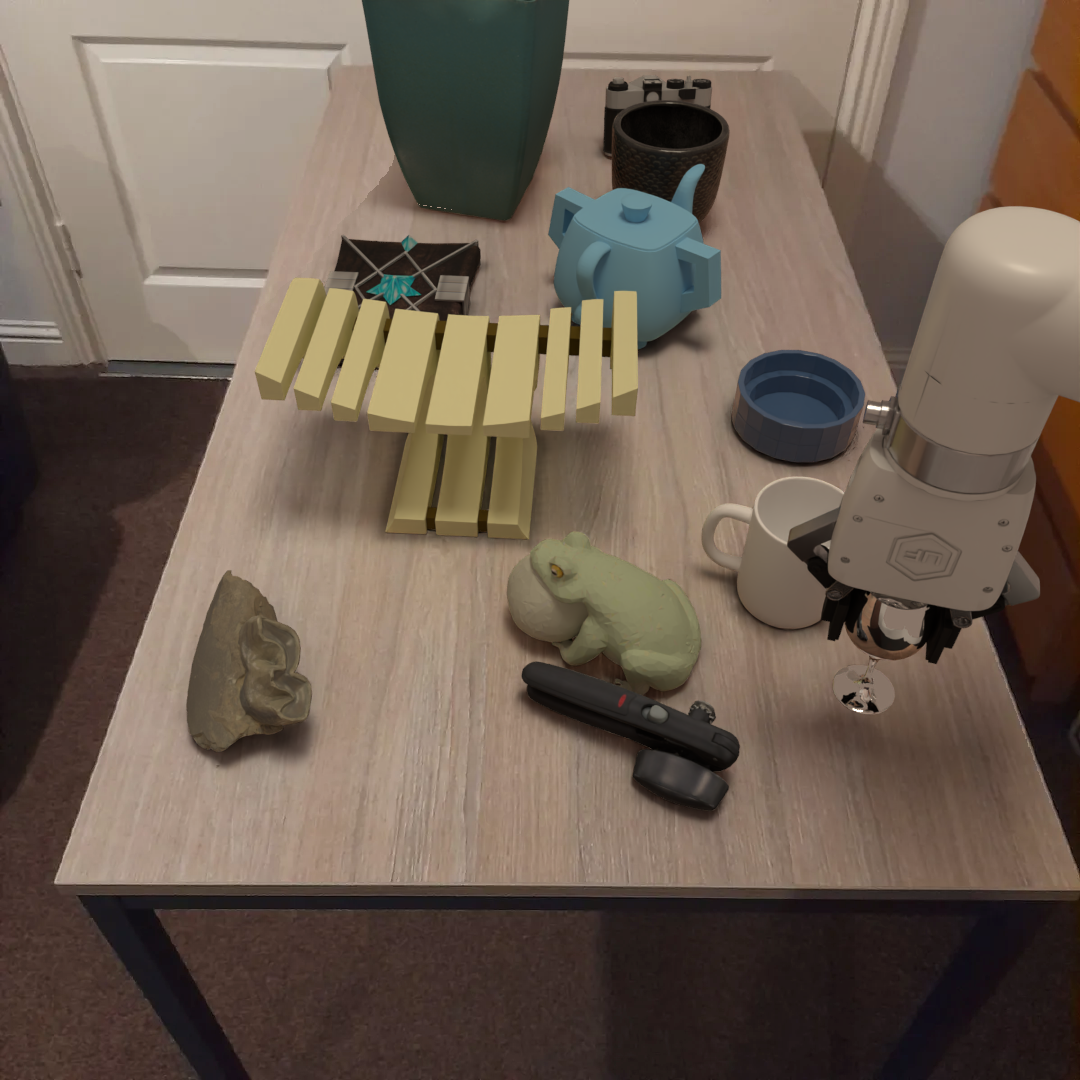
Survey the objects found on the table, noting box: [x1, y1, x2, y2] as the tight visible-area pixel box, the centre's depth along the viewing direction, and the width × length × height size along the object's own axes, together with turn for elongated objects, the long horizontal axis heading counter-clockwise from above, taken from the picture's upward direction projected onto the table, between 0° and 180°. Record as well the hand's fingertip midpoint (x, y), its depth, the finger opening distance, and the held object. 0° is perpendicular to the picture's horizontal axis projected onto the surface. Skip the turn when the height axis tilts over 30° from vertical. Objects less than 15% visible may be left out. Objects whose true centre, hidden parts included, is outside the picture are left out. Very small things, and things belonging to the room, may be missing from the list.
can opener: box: [521, 660, 741, 812], centre depth 75 cm, size 18×7×6 cm, turn 58°
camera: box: [602, 74, 713, 157], centre depth 140 cm, size 15×11×10 cm
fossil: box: [185, 569, 313, 753], centre depth 76 cm, size 14×10×10 cm
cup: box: [700, 475, 845, 630], centre depth 83 cm, size 8×12×10 cm
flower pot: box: [361, 0, 570, 222], centre depth 123 cm, size 20×20×28 cm
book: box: [323, 234, 482, 364], centre depth 113 cm, size 22×17×5 cm
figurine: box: [506, 530, 702, 696], centre depth 79 cm, size 10×16×10 cm, turn 66°
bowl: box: [730, 349, 866, 463], centre depth 100 cm, size 12×12×5 cm
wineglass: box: [831, 588, 938, 716], centre depth 69 cm, size 6×6×12 cm
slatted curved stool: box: [254, 277, 639, 540], centre depth 90 cm, size 30×16×18 cm, turn 87°
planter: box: [611, 100, 731, 224], centre depth 124 cm, size 14×14×13 cm
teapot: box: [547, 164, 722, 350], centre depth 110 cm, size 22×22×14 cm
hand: (883, 634), depth 68 cm, fingers closed on wineglass, 5 cm apart
